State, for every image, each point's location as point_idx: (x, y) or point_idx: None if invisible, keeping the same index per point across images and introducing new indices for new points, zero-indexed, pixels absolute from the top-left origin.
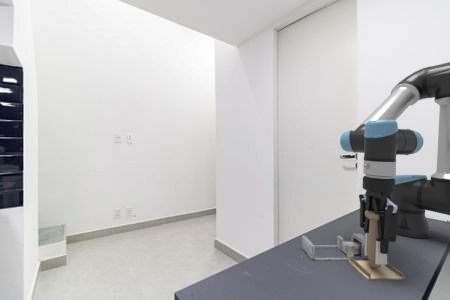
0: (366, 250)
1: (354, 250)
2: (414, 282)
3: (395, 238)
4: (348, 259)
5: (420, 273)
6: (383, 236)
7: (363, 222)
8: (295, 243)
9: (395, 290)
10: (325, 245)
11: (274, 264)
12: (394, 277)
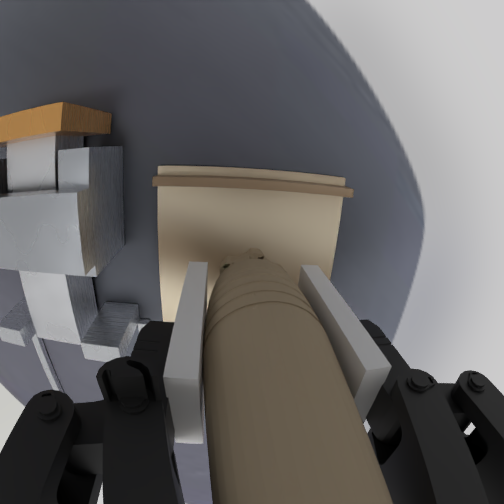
0: None
1: (82, 285)
2: (367, 153)
3: (495, 395)
4: None
5: (298, 43)
6: (352, 401)
7: (92, 499)
8: None
9: (390, 284)
10: (38, 353)
11: (203, 487)
12: (334, 229)
